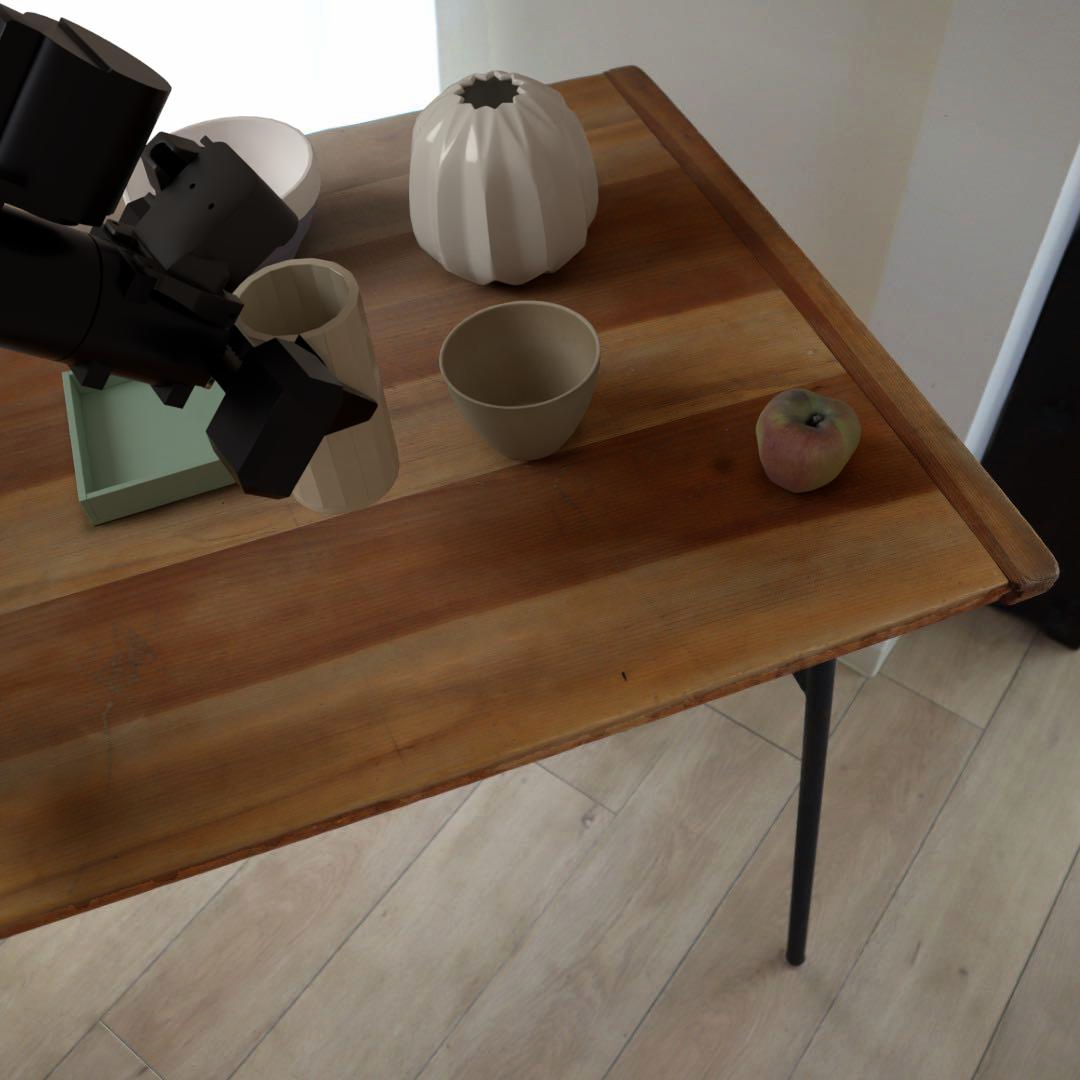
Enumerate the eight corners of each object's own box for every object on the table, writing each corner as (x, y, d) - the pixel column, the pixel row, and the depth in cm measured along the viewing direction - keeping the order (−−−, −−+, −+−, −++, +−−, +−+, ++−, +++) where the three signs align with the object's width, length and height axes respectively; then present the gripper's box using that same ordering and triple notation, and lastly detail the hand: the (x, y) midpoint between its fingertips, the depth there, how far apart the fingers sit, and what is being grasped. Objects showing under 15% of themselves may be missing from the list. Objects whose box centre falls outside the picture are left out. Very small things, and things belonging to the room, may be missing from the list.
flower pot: (609, 382, 80) (605, 298, 75) (599, 491, 74) (594, 409, 69) (465, 380, 82) (451, 298, 76) (443, 487, 75) (426, 406, 70)
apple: (716, 449, 76) (720, 381, 71) (838, 428, 76) (849, 360, 71) (742, 519, 72) (748, 452, 67) (869, 496, 72) (884, 428, 68)
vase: (433, 199, 95) (407, 41, 85) (604, 198, 94) (599, 37, 84) (405, 310, 87) (371, 148, 77) (593, 311, 85) (584, 146, 75)
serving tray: (92, 526, 75) (78, 501, 74) (74, 397, 83) (61, 372, 82) (290, 466, 77) (281, 441, 76) (253, 346, 86) (244, 320, 84)
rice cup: (305, 529, 65) (245, 357, 55) (276, 454, 69) (215, 281, 59) (414, 490, 66) (374, 316, 56) (380, 419, 70) (337, 244, 60)
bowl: (145, 324, 88) (109, 240, 82) (161, 211, 97) (129, 128, 92) (338, 297, 88) (316, 211, 83) (335, 187, 98) (315, 103, 92)
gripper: (243, 233, 43) (519, 338, 55) (67, 43, 53) (331, 166, 65) (116, 478, 46) (401, 527, 58) (-26, 255, 57) (241, 335, 69)
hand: (341, 376), depth 63 cm, fingers closed on rice cup, 6 cm apart
